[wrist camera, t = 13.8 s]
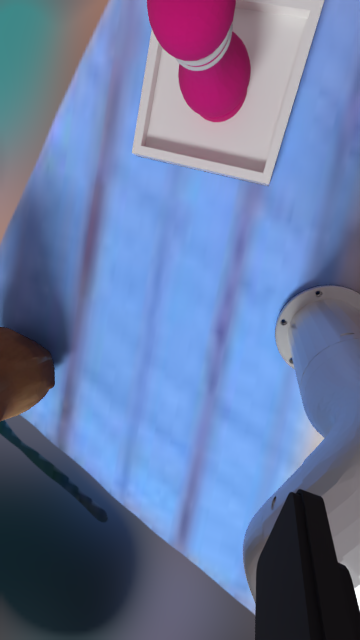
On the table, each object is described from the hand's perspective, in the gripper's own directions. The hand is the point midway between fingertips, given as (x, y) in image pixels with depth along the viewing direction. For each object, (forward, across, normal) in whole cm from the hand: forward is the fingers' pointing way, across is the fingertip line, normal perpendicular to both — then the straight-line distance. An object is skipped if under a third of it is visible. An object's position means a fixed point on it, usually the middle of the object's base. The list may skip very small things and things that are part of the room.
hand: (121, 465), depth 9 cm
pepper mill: (+36, +7, -20) cm, 41 cm away
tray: (+36, +7, -20) cm, 42 cm away
